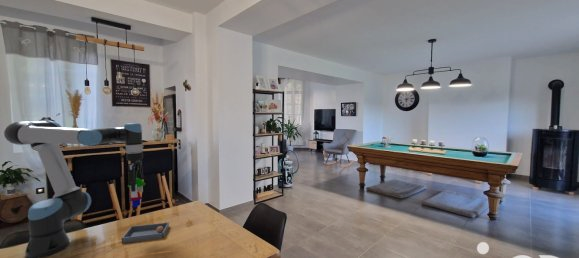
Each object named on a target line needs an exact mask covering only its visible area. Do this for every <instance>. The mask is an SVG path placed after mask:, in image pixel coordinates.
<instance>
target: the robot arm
mask: <svg viewBox="0 0 579 258" xmlns="http://www.w3.org/2000/svg"><path fill="white" fill-rule="evenodd" d="M123 126H124V127H121V126H120V127H117V126H116V127H112V126H110V127H103V128H80V127H79V128H77V127H62V125H60V123H58V122H56V121H53V120H44V119H43V120H42V119H41V120H20V121H15V122H12V123H11V124H8V125H7V126H6V127H5V129H4V131H3V135H4V138H5V139H6V141H8V142H9V143H11V144H14V145H19V146H21V145H26V146H27V145H30V148H31V150H35V151H36V152H37V153H38V156H39V158H40V160H41V161H40V162H41V163H42V165H43V168H44V170H45V172H46V174H47V177H48V180H49V182H50V185H51V188H52V189H53V192H54V194H53V196H52V198H48V199H47V198H46V200H44V199H43V200H40V201H37V202H35V203H34V204H32V205H30V207H29V209H28V214H27V218H28V227H29V240H28V242H27V245H26V248H25V255H24V256H25V257H26V258H27V257H28V258H37V257H40V258H45V257H47V256H51V255H55V254H56V253H59V252H61V251H63V250H65V249H66V248H68V247H69V245H70V238H69V236H68V234H67V233H66V231H65V226H64V222H66V221H68V220H70V219H72V218H74V217H77V216H79V215H82V214H83V213H85V212H86V211H87V210H89V208H90V206H91V204H92V198H91V195H90V194H89V193H88V192H87V191H83V190H82V188H81V187H79V186H76V183H75V180H74V178H73V176H72V174H71V171H70V168H69V166H68V163H67V161H66V159H65V157H64V153H63V152H62V148H61V147H60V145H61V144H69V145H71V144H72V145H73V144H74V145H83V146H85V147H89V146H90V147H92V146H97V145H102V144H110V143H116V142H120V143H121V142H125V153H126V157H125V158H126V161H127V162H130V164H129V165H128V166H127V170H128V173H127V174H128V179H127V180H128V183H127V184H128V185H127V187H128V186H131V190H130V196H131V198H133V197H138V195H137V184H136V178H140V179H141V180H142V181H144V180H145V178H144V171H143V170H144V169H143V159H144V152H143V151H144V150H143V149H144V147H145V146H144V145H143V129H142V125H141V123H137V122H134V123H133V122H132V123H130V122H129V123H124V125H123ZM132 182H133V183H132ZM143 192H144V187H142V189H141V190H140V191H139V193H143ZM44 256H45V257H44Z"/></svg>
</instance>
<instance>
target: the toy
mask: <svg viewBox="0 0 579 258" xmlns="http://www.w3.org/2000/svg"><path fill="white" fill-rule="evenodd" d="M132 183H133V182H132ZM136 184H137V195H138V197H133V198H131V195H130V196H129V197H130V198H129V201H130V202H131V206H132V208H137V207H138V206H141V200H142V199H143V196H141V192H139V191H140V190H141V189H142V187H143V186H145V185H146V182H144V180H141V179H140V178H136ZM127 188H129V190H130V191H131V186H128V185H127ZM143 188H144V187H143Z"/></svg>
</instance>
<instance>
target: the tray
mask: <svg viewBox="0 0 579 258" xmlns="http://www.w3.org/2000/svg"><path fill="white" fill-rule="evenodd" d="M159 226H162V227H163V228H164V230H163V232H161V233H158V232H157V231H156V229H157V228H158V227H159ZM169 227H170V222H159V223H151V224H150V223H148V224H141V225H133V226H130V227H129V229H127V231H126V232H125V233H124V234H123V236H122V237H121V244H125V243H132V242H141V241H149V240H157V239H164V237H165V236H166V234H167V231H168V229H169Z"/></svg>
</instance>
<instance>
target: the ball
mask: <svg viewBox="0 0 579 258" xmlns="http://www.w3.org/2000/svg"><path fill="white" fill-rule="evenodd" d="M163 230H164V228H163V227H162V226H159V227H158V228H157V229H156V231H157V232H158V233H161V232H163Z"/></svg>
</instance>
